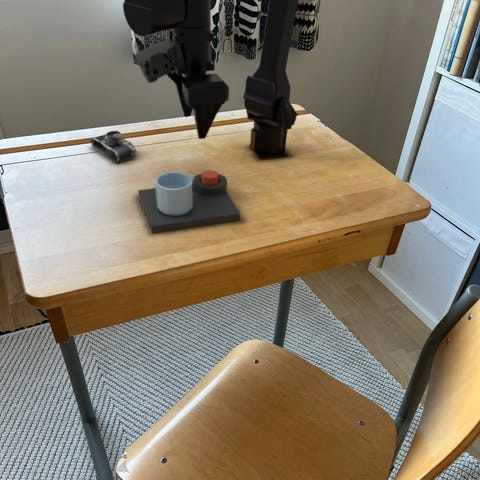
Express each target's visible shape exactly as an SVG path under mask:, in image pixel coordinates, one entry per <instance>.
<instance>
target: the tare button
mask: <svg viewBox="0 0 480 480" xmlns="http://www.w3.org/2000/svg"><path fill="white" fill-rule="evenodd" d="M201 173H202V183H203V184H205V185H216V184H218V180H219V174H220V173H219V172H218V171H216V170H214V169H213V170H212V169H209V170H208V169H207V170H204V171H202V172H201Z"/></svg>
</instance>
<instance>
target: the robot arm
mask: <svg viewBox="0 0 480 480" xmlns="http://www.w3.org/2000/svg"><path fill="white" fill-rule="evenodd" d="M298 4H299V0H269V1H268V9H267V15H266V21H265V27H264V34H263V41H262V45H261V52H260V59H259V60H260V61H259V65H258V68H257V69H256V70H255V72H254V73H253V74H252V75H248V76H247V77H246V79H245V87H244V88H245V89H244V93H243V95H242V98H243V99H244V102H243V104H244V108H245V111H246V116H247V120H250V121H253V127H252V128H251V129H250V140H249V141H250V143H249V148H250V149H251V151H252V152H253V153H254V154H255V155H256V157H257V158H258V159H260V160H263V159H264V160H265V159H272V158H273V159H274V158H281V157H288V156H289V152H288V151H287V150H286V147H287V146H286V145H287V137H288V130H291V129H292V128H293V126H294V125H295V124H296V120H297V117H298V112H297V111H296V110H295V108H294V107H293V104H292V103H291V102H290V101H291V88H292V87H291V85H290V81H289V78H288V74H287V65H288V59H289V54H290V48H291V43H292V37H293V31H294V26H295V21H296V17H297V16H296V15H297V10H298ZM122 9H123V10H122V11H123V15H124V18H125V21H126V24H127V25H128V27H129V28H130V30H131V31H132V32H133V33H134V34H135V35H137V36H139V37H147V36H151V35H154V34H158V33H162V32H167V39H165V40H162V41H160V42H159V41H158V42H156V43H154V44H152V45H150V46H148V47H146V48H144V49H142V50H140V51H137V52H136V53H135V55H134V57H135V59H136V62H137V64H138V66H139V69H140V71H141V73H142V75H143V77H144V79H145V80H146V82H147V83H150V84H151V83H155V82H158V80H159V79H160V78H162V77H164V76H167V77H168V79H170V80H171V81H172V82H173V83H174V85H175V89H176V92H177V96H178V98H179V103H180V106H181V111H182V114H183V116H184V118H188V117H189V118H190V117H191V116H192V114H193V118H194V123H195V128H196V129H195V130H196V133H197V138H198V139H199V140H204V139H206V138H207V135H208V134H209V131H210V129H211V127H212V125H213V123H214V121H215V118H216V116H217V115H218V113H219V112H220V109H221V108H222V106H223V105H225V104H226V102H228V101H229V100H230V87H229V85H228V84H227V83H226V81H224V80H223V78H222V77H220V76H219V75H218V74H217V73H207V72H213V71H215V67H216V66H215V64H216V63H215V62H214V61H213V60H212V42H215V35H216V34H215V33H214V31H213V30H212V28H211V27H212V26H211V25H212V24H211V17H212V15H211V12H212V11H211V0H123V3H122Z"/></svg>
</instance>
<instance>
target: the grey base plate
mask: <svg viewBox="0 0 480 480" xmlns="http://www.w3.org/2000/svg"><path fill="white" fill-rule="evenodd" d="M218 174H219V180H218V184H216V185H205V184H203V183H202V172H201V173H198V174H196V175H194V177H193V178H192V180H193V207H192V209H191V210H190V211H189V212H187V213H186V214H183V215H179V216H171V215H167V214H164V213H163V212H161V211H160V210H159V209H158V207H157V202H156V189H155V187H154V188H153V187H152V188H146V189H138V190H137V194H138V195H137V196H138V199H139V201H140V204H141V207H142V209H143V212H144V215H145V218H146V220H147V222H148V226H149V228H150V231H151V232H152V234H155V233H162V232H168V231H170V232H171V231H177V230H183V229H190V228H196V227H204V226H210V225H218V224H224V223H225V224H226V223H230V222H237V221H238V222H239V221H240V220H241V212H240V210H239V209H238V207H237V206H236V205H235V203H234V202H233V200H232V198H231V197H230V195H229V194H228V192H227V189H228V179H227V178H226V176H225V175H223V174H221V173H218Z"/></svg>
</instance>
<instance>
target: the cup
mask: <svg viewBox="0 0 480 480" xmlns="http://www.w3.org/2000/svg"><path fill="white" fill-rule="evenodd" d="M154 186H155V187H154V188H155V189H156V202H157V207H158V209H159V210H160V211H161V212H163V213H164V214H167V215H171V216H179V215H183V214H186V213H187V212H189V211H190V210H191V209H192V207H193V178H192V176H190V175H189V174H187V173H185V172H181V171H169V172H164V173H161V174H159V175H158V176H156V178H155V180H154Z"/></svg>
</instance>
